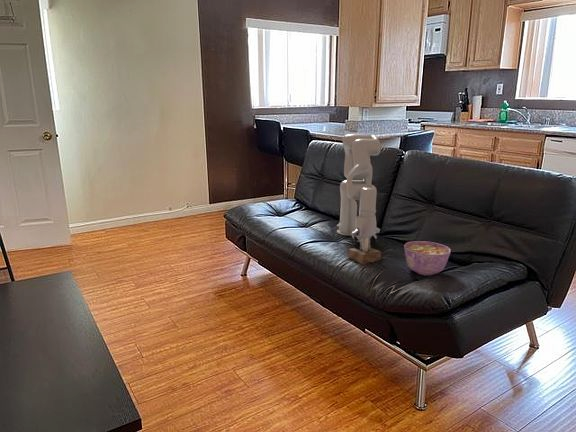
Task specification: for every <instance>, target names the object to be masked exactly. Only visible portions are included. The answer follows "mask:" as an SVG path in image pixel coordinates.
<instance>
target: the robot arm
mask: <svg viewBox="0 0 576 432" xmlns="http://www.w3.org/2000/svg"><path fill="white" fill-rule="evenodd" d="M342 147H343V151H344V163H343V164H344V165H343V176H344V177H345V178H346V179H345V180H342V181H341V182H340V185H339V192H340V211H339V213H340V215H339V222H338V224H336V227H338V229H337V230H336V234H338V235H342V236H348V237H349V236H351V238H352V239H353V241H354V248H355V249H357V250H360V247H361V246H360V242H359V241H360V240H361V238H363V237H369V236H371V238H370V247H372V248H375V247H376V240H377V239H378V236H379V233H380V231H381V228H379V227H377V216H376V213H377V208H376V207H377V205H376V203H377V193H378V192H377V191H378V190H377V187H376V186H375V185H374V184H372V180H373V166H372V163H371V156H372V157H373V156H379V155H380V153H381V149H382V146H381V142H380V140H379V138H377V136H376V135H374V134H369V133H368V134H367V133H366V134H365V133H363V134H362V133H361V134H358V133H347V134H345V135H343V138H342ZM357 200H359V209H358V203H357ZM358 237H359V238H358Z"/></svg>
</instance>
